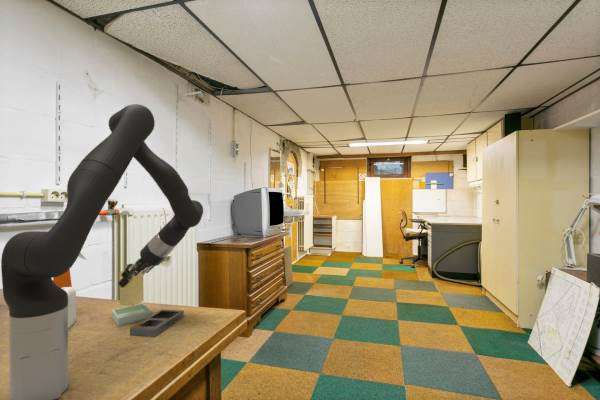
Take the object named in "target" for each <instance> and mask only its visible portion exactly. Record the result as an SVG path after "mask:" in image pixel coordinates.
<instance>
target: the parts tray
mask: <svg viewBox="0 0 600 400" xmlns="http://www.w3.org/2000/svg"><path fill="white" fill-rule="evenodd" d="M152 315H153V310H152V309H151V308H149V307H148V305H146V304H145V303H138V304H136V305H134V306H128V305H127V306H125V307H120V308H119V307H118V308H114V309H111V318H112V320H113V321H114V323H115V325H116V326H117V327H121V326H125V325H129V324H135V323H139V322H142V321H143V320H145V319H147V318H148V317H150V316H152Z"/></svg>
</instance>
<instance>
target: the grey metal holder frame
mask: <svg viewBox="0 0 600 400" xmlns="http://www.w3.org/2000/svg"><path fill="white" fill-rule="evenodd" d="M184 316H185V311H184V309H183V310H181V309H180V310H179V309H167V308H166V309H161V310H159V311H157V312H155V313H152V316H150V317H148V318H147V319H145V320H143V321H139V322H137V323H136V324H135V325H133V326H131V327H130V328H129V336H133V337H134V336H136V337H147V338H155V337H157V336H158V335H160V334H161V333H163V332H164V331H165V330H167V329H168V328H170V327H171V326H172V325H174V324H176V323H177V322H178V321H179V320H182V319H183V318H184Z"/></svg>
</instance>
